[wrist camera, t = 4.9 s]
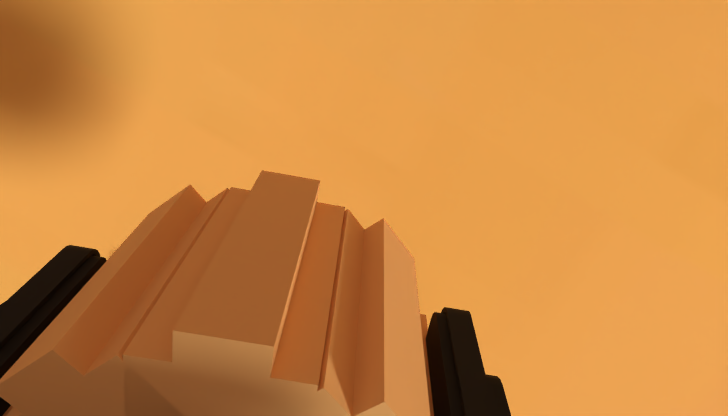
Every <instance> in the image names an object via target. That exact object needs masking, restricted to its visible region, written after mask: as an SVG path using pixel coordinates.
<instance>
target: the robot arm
mask: <svg viewBox="0 0 728 416" xmlns="http://www.w3.org/2000/svg"><path fill="white" fill-rule="evenodd" d="M106 261H107V260H106V258H104V257H100V254H99V252H98V250H96V249H91V248H85V247H79V246H72V245H69V246H66V247H65V248H63V249H62V250H61V251H60V252H59V253H58V254H57V255H56V256H55V257H54V258H53V259H52V260H50V261H49V262H48V263H47V264H46V265H45V266H44V267H43V268H42V269H41V270H40V271H39V272H37V273H36V274H35V275H34V276H33V277H32V278H31V279H30V280H29V281H28V282H27V283H26V284H24V285H23V286H22V287H21V288H20V289H19V290H18V291H17V292H16V293H15V294H14V295H13V296H11V297H10V298H9V299H8V300H7V301H5V302H4V303H2V304H1V305H0V379H1V378H2V377H3V376H4V375H5V373H6V372H7V371H8V370H9V369H10V368H11V367H12V366H13V365H14V363H15V362H16V361H17V360H18V359H19V358H20V357H21V356H22V355H23V353H24V352H25V351H26V350H27V349H28V348H29V347H30V346H31V345H32V343H33V342H34V341H35V340H36V339H37V338H38V337H39V336H40V335H41V333H42V332H43V331H44V330H45V329H46V328H47V327H48V326H49V325H50V323H51V322H52V321H53V320H54V319H55V318H56V317H57V316H58V315H59V313H60V312H61V311H62V310H63V309H64V308H65V307H66V306H67V304H68V303H69V302H70V301H71V300H72V299H73V298H74V297H75V296H76V294H77V293H78V292H79V291H80V290H81V289H82V288H83V287H84V286H85V284H86V283H87V282H88V281H89V280H90V279H91V278H92V277H93V276H94V274H95V273H96V272H97V271H98V270H99V269H100V268H101V267H102V266H103V264H104V263H105V262H106ZM426 347H427V356H428V365H429V374H430V383H431V392H432V401H433V410H434V416H511V414H510V410H509V406H508V403H507V399H506V396H505V392H504V388H503V385H502V383H501V380H500V379H499V378H498V377H497V376H492V375H485V371H484V367H483V363H482V359H481V355H480V351H479V347H478V342H477V338H476V334H475V330H474V326H473V322H472V318H471V314H470V312H469V311H464V310H458V309H452V308H446V307H445V308H443V310H442V312H441V313H437V312H434V313H433V315H432V318H431V321H430V325H429V328H428V332H427V335H426ZM10 406H11V405H10V404H9V403H8V402H6V401H5V400H4V399H2V398H1V397H0V416H3V414H4V413H5V412H6V411H7V410H8V408H9V407H10Z"/></svg>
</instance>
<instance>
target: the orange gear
mask: <svg viewBox="0 0 728 416" xmlns="http://www.w3.org/2000/svg"><path fill="white" fill-rule="evenodd" d="M319 184H320V181H319V180H313V179H308V178H302V177H296V176H291V175H285V174H279V173H274V172H268V171H261V173H260V175H259V177H258V179H257V180H256V182H255V184H254V186H253V188H252V189H251V191H249V190H244V189H238V188H232V187H231V188H230V190H229V189H228V188H227V189H226V190H224V191H223V192H221V193H220V194H218V195H217V196H215V197H214V198H212V199H211V200H209V201H208V202H207V203H206V202H205V200H204V199H203V198H202V197H201V196H200V195H199V194H198V193H197V192H196V190H195V189H194V188H193V187H192V186H191V185H189V186H187V187H186V188H185V189H183V190H182V191H180V192H179V193H178V194H176V195H175V196H173V197H172V198H171V199H169V200H168V201H166V202H165V203H163V204H162V205H161V206H159V207H158V208H156V209H155V210H154V211H152V212H151V213H149V214H148V216H147V217H146V218H145V219H144V220H143V221H142V222H141V223H140V224H139V226H138V227H137V228H136V229H135V230H134V231H133V232H132V233H131V234H130V236H129V237H128V238H127V239H126V240H125V241H124V242H123V243H122V244H121V246H120V247H119V248H118V249H117V250H116V251H115V252H114V253H113V254H112V256H111V257H110V258H109V259H108V260H107V261H106V262H105V263H104V264H103V266H102V267H101V268H100V269H99V270H98V271H97V272H96V273H95V274H94V276H93V277H92V278H91V279H90V280H89V281H88V282H87V283H86V284H85V286H84V287H83V288H82V289H81V290H80V291H79V292H78V293H77V294H76V296H75V297H74V298H73V299H72V300H71V301H70V302H69V303H68V304H67V306H66V307H65V308H64V309H63V310H62V311H61V312H60V313H59V315H58V316H57V317H56V318H55V319H54V320H53V321H52V322H51V323H50V325H49V326H48V327H47V328H46V329H45V330H44V331H43V332H42V333H41V335H40V336H39V337H38V338H37V339H36V340H35V341H34V342H33V343H32V345H31V346H30V347H29V348H28V349H27V350H26V351H25V352H24V353H23V355H22V356H21V357H20V358H19V359H18V360H17V361H16V362H15V363H14V365H13V366H12V367H11V368H10V369H9V370H8V371H7V372H6V373H5V375H4V376H3V377H2V378H1V379H0V397H1V398H2V399H4V400H5V401H6V402H8V403H9V404H10V405H11V406H10V407H9V408H8V410H7V411H6V412H5V413H4V414H3V416H434V410H433V401H432V392H431V383H430V374H429V365H428V356H427V347H426V335H427V332H428V329H427V320H426V315H423V314H420V310H419V300H418V290H417V281H416V271H415V261H414V258H413V256H412V255H411V254H410V252H409V251H408V250H407V248H406V247H405V246H404V244H403V243H402V242H401V240H400V239H399V238H398V236H397V235H396V234H395V232H394V231H393V230H392V229H391V227H390V226H389V225H388V223H387V222H386V221H385V219H384V218H383V219H382V220H380V221H378V222H377V223H375V224H373V225H372V226H370V227H368V228H367V229H365V230H364V229H363V227H362V226H361V225H360V224H359V222H358V221H357V220H356V218H355V217H354V216H353V215H352V213H351V212H350V211H349V210H348V209H347V210H346V211H344V210H345V207H341V206H335V205H330V204H324V203H318V202H317V197H318V191H319Z"/></svg>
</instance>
